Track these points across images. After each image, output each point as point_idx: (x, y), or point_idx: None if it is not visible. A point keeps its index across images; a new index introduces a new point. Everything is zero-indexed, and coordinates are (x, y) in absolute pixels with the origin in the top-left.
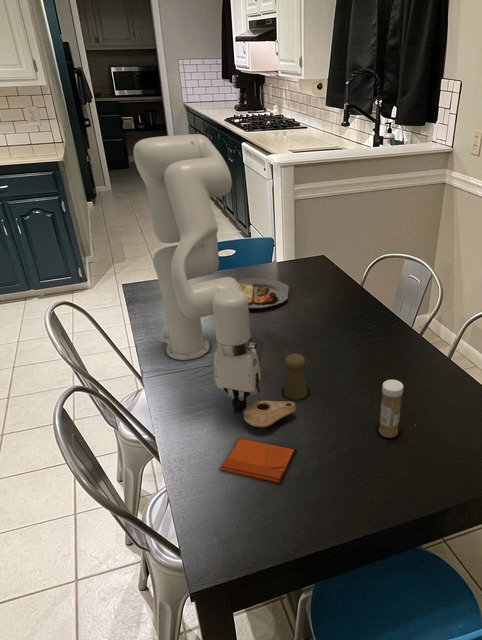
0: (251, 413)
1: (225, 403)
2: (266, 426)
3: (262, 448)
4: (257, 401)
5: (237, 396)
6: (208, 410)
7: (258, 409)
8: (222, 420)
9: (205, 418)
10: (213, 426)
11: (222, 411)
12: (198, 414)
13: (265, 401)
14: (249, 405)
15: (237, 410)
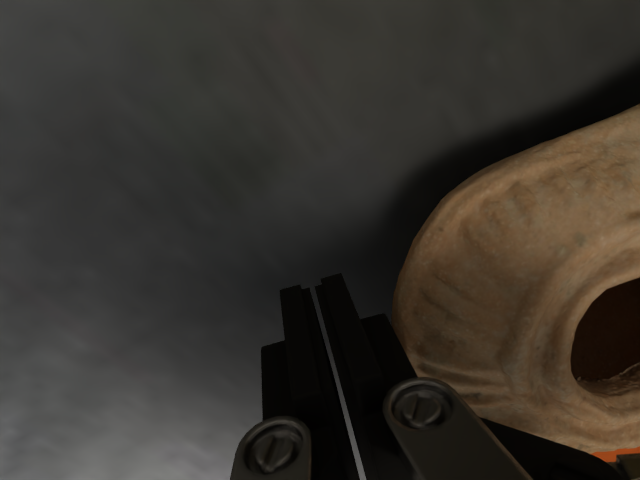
0: None
1: (66, 232)
2: (602, 338)
3: (619, 450)
4: (540, 307)
5: (346, 477)
6: (33, 375)
7: (625, 421)
8: (226, 393)
9: (102, 441)
10: (221, 460)
11: (140, 325)
12: (16, 442)
13: (617, 243)
14: (470, 375)
15: (336, 387)
